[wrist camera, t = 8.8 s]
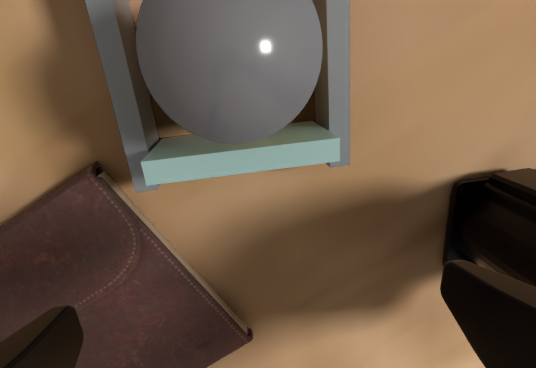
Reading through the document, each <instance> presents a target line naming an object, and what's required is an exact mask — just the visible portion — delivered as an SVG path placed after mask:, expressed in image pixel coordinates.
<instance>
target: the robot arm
mask: <svg viewBox="0 0 536 368" xmlns="http://www.w3.org/2000/svg"><path fill="white" fill-rule="evenodd" d="M462 187H463V190H462V191H460V190H461V188H462ZM443 266H444V269H443V275H442V281H441V287H440V290H441V295H442V297H443V299H444V301H445V303H446V304H447V306H448V308H449V310H450V311H451V313H452V315H453V316H454V318H455V320H456V321H457V323H458V325H459V326H460V328H461V330H462V331H463V333H464V335H465V336H466V338H467V340H468V341H469V343H470V345H471V346H472V348H473V350H474V351H475V353H476V354H477V356H478V357H479V359H480V360H481V362H482V363H483V365H484V366H485V367H486V368H536V170H533V169H530V168H527V169H520V170H512V171H505V172H498V173H493V174H491V175H489V177H482V178H475V179H468V180H460V181H458V182H456V183H455V184H454V185H453V188H452V194H451V202H450V210H449V218H448V225H447V233H446V241H445V249H444V257H443ZM83 339H84V335H83V330H82V327H81V324H80V321H79V318H78V315H77V312H76V310H75V308H74V307H73V306H71V305H67V306H58V307H53V308H51V309H49V310H47V311H46V312H44V313H43V314H41V315H40V316H38V317H37V318H35V319H34V320H32V321H31V322H29V323H28V324H26V325H25V326H23V327H22V328H20V329H19V330H17V331H16V332H14V333H13V334H11V335H10V336H8V337H7V338H5V339H4V340H2V341H1V342H0V368H75V366H76V363H77V360H78V357H79V354H80V351H81V348H82V344H83Z"/></svg>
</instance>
